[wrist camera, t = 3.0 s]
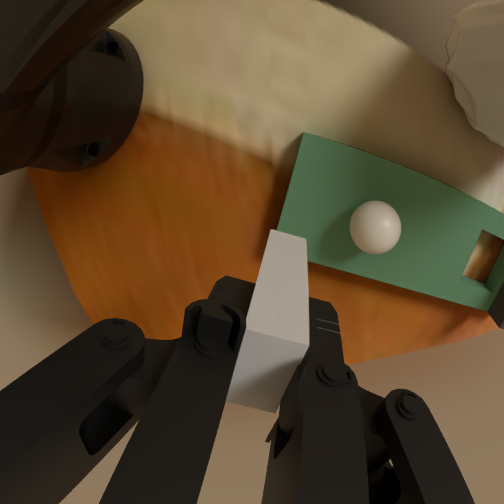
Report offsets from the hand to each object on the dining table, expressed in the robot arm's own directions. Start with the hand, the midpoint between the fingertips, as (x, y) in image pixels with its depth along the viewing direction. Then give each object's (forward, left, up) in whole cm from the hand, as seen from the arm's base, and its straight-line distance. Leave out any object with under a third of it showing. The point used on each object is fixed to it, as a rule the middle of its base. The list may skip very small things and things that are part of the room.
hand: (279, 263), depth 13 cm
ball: (+7, 0, -12) cm, 14 cm away
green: (+14, 0, -14) cm, 20 cm away
